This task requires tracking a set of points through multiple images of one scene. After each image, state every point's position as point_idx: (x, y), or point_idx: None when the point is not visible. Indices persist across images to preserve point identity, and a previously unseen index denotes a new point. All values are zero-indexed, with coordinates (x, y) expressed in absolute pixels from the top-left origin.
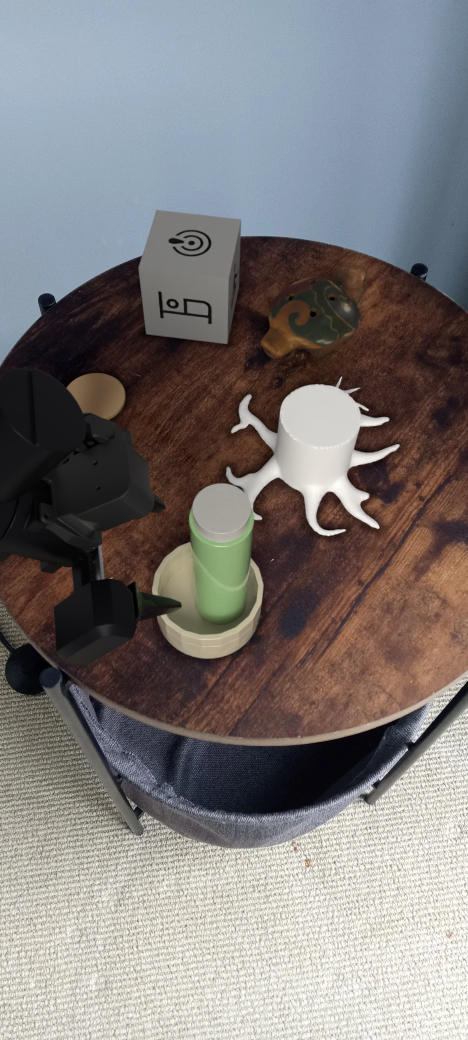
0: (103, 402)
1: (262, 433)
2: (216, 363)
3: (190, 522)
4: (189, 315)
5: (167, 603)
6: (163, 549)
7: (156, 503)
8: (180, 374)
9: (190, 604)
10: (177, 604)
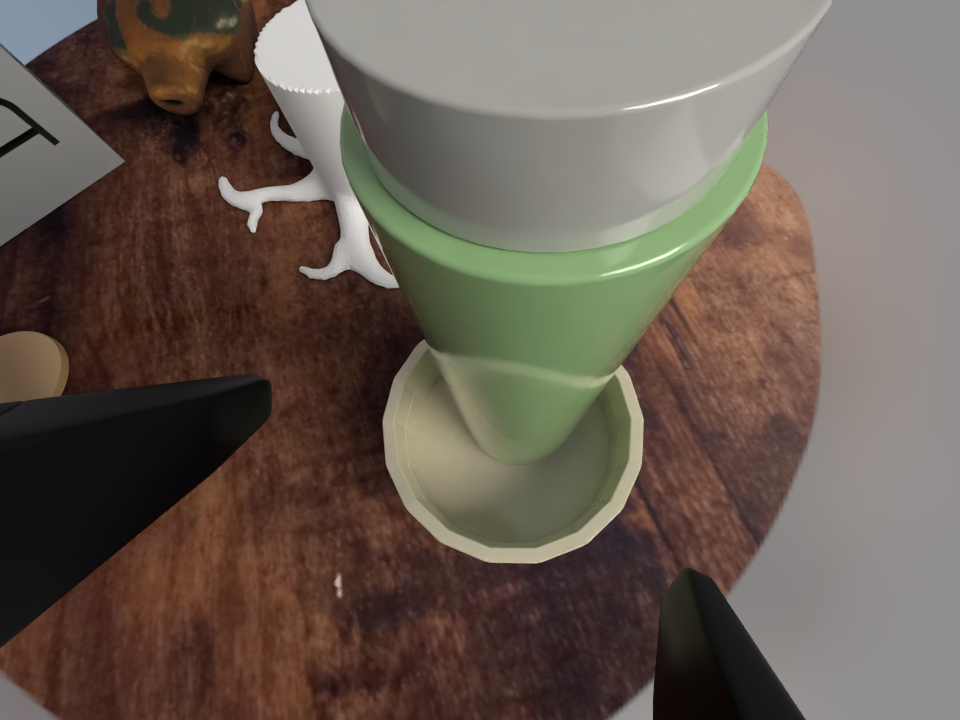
0: (24, 378)
1: (290, 194)
2: (137, 190)
3: (459, 259)
4: (5, 153)
5: (776, 698)
6: (354, 447)
7: (222, 399)
8: (104, 243)
9: (493, 468)
10: (719, 602)
